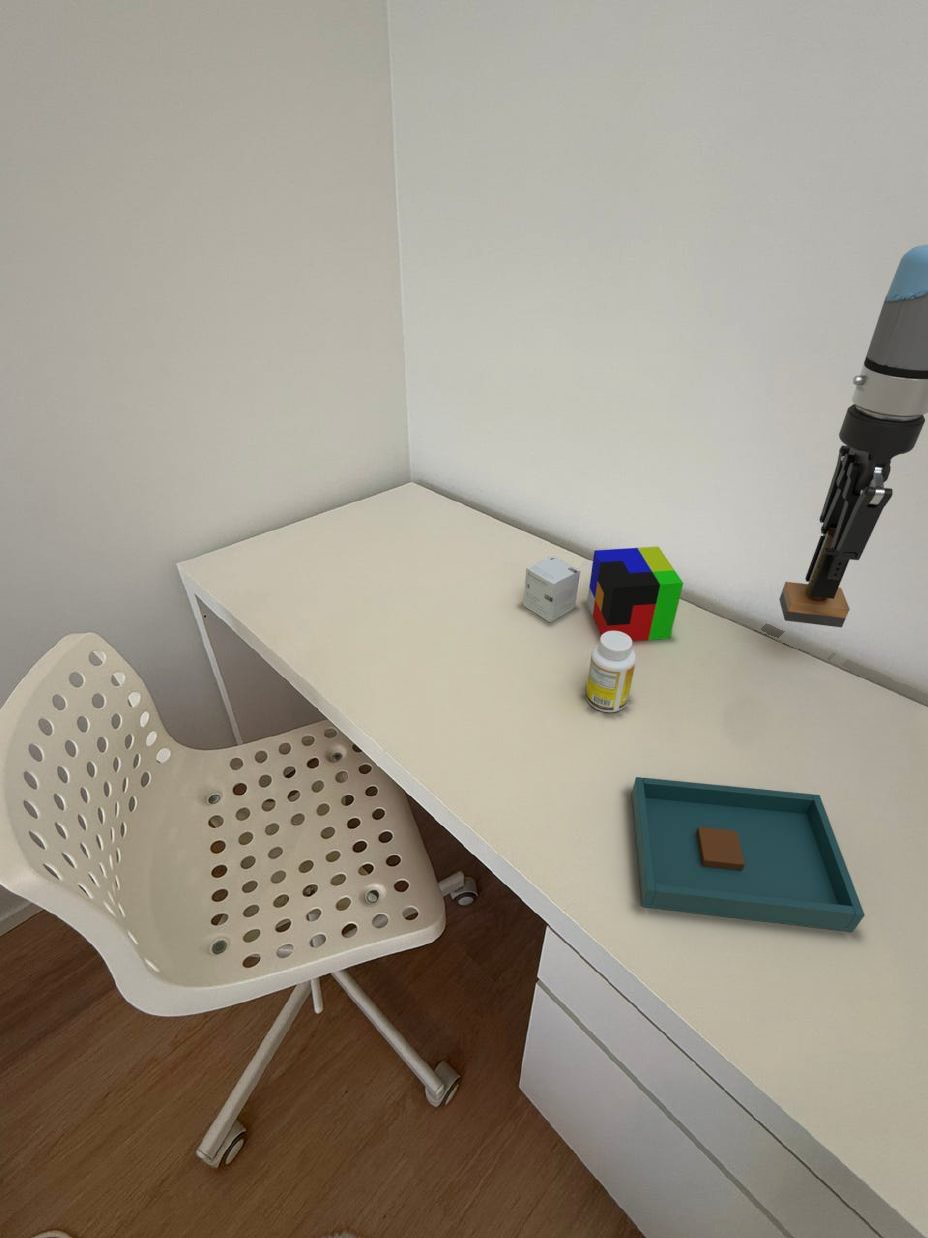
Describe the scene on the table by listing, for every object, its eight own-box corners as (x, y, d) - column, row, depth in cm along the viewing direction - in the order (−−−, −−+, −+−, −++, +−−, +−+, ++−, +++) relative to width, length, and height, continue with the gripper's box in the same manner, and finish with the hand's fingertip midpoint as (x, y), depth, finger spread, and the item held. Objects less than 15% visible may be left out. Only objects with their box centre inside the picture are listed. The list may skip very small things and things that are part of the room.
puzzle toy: (586, 604, 104) (594, 550, 98) (647, 599, 104) (658, 546, 98) (604, 643, 96) (613, 587, 90) (669, 638, 96) (683, 582, 90)
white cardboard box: (522, 606, 103) (524, 567, 99) (548, 592, 106) (552, 553, 102) (550, 623, 99) (554, 584, 95) (576, 608, 103) (581, 569, 98)
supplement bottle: (618, 683, 89) (629, 624, 83) (633, 711, 84) (646, 651, 78) (579, 687, 88) (587, 628, 82) (592, 717, 84) (602, 657, 77)
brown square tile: (734, 837, 69) (737, 830, 68) (742, 871, 66) (745, 864, 65) (695, 833, 69) (698, 826, 68) (701, 866, 66) (704, 860, 65)
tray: (810, 812, 72) (819, 794, 70) (852, 932, 61) (865, 915, 59) (631, 794, 74) (635, 776, 72) (642, 907, 63) (647, 890, 61)
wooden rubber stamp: (833, 605, 88) (865, 527, 81) (842, 627, 84) (876, 547, 77) (779, 599, 89) (805, 522, 82) (784, 620, 85) (812, 541, 78)
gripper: (834, 384, 77) (779, 554, 91) (868, 433, 65) (798, 620, 79) (904, 388, 76) (837, 560, 90) (952, 438, 63) (865, 628, 77)
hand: (819, 588), depth 84 cm, fingers closed on wooden rubber stamp, 3 cm apart
